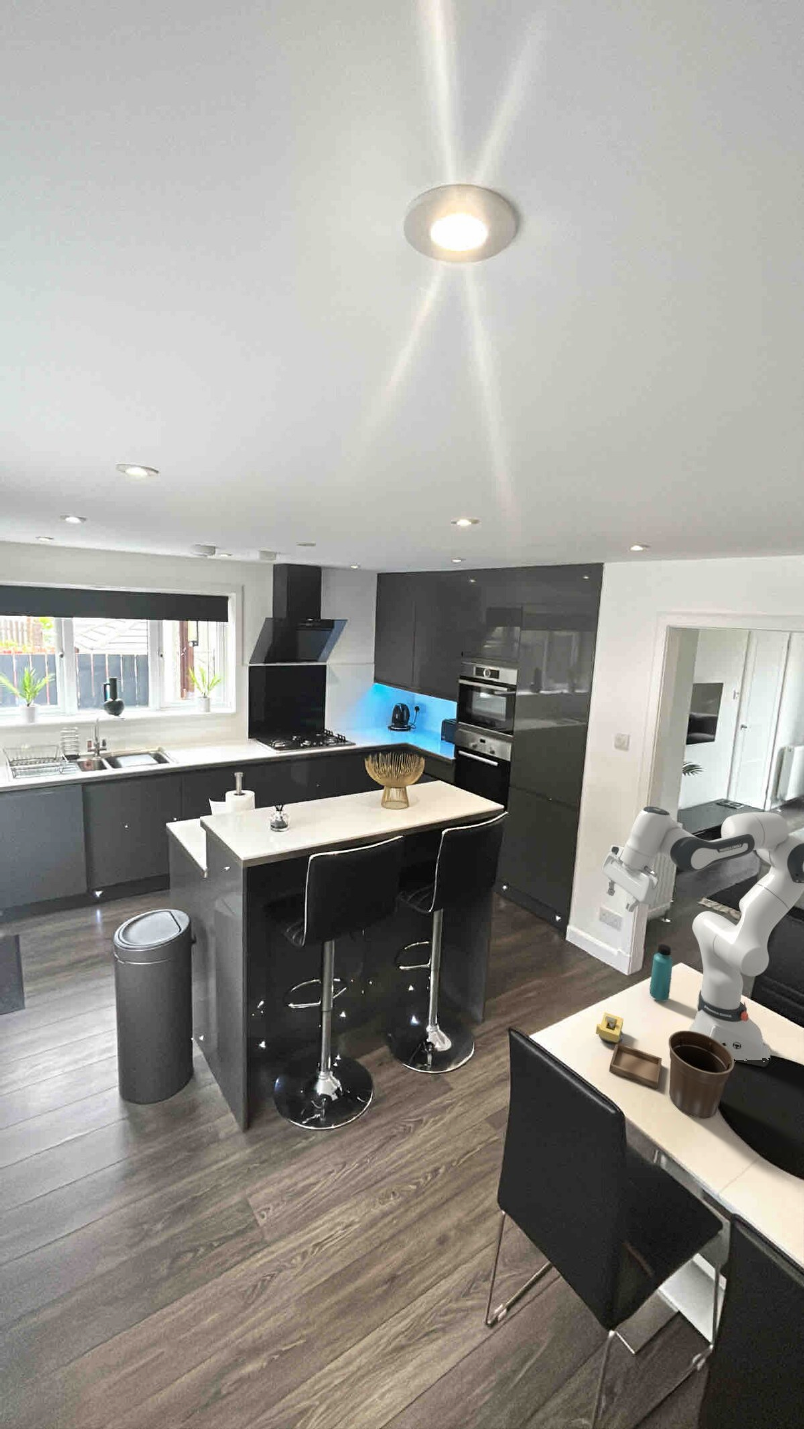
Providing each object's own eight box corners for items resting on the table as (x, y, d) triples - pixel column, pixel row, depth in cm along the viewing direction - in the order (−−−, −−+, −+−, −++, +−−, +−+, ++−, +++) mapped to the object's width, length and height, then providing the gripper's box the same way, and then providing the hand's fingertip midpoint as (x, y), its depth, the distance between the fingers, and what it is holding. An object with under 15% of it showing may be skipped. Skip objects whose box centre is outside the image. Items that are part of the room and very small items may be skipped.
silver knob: (623, 1034, 197) (625, 1017, 196) (619, 1047, 191) (621, 1030, 190) (601, 1026, 201) (602, 1009, 199) (596, 1039, 195) (598, 1021, 193)
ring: (622, 1025, 198) (623, 1018, 198) (617, 1043, 190) (618, 1035, 190) (600, 1018, 202) (601, 1011, 201) (595, 1035, 194) (596, 1027, 193)
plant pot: (736, 1107, 170) (745, 1055, 167) (709, 1137, 160) (717, 1082, 157) (679, 1071, 183) (686, 1022, 180) (650, 1097, 173) (657, 1046, 170)
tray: (661, 1064, 185) (661, 1058, 184) (656, 1089, 175) (657, 1082, 175) (615, 1048, 191) (616, 1042, 190) (609, 1071, 181) (609, 1064, 181)
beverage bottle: (670, 1006, 212) (677, 953, 209) (649, 1003, 213) (656, 950, 210) (666, 994, 218) (673, 943, 215) (646, 991, 220) (653, 940, 216)
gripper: (669, 878, 171) (650, 923, 173) (623, 847, 191) (607, 887, 192) (652, 873, 169) (633, 919, 171) (607, 843, 188) (591, 884, 190)
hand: (619, 902), depth 182 cm, fingers open, 8 cm apart
